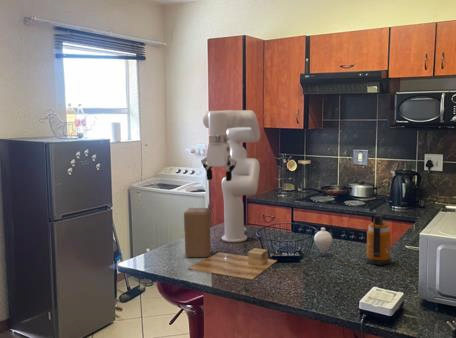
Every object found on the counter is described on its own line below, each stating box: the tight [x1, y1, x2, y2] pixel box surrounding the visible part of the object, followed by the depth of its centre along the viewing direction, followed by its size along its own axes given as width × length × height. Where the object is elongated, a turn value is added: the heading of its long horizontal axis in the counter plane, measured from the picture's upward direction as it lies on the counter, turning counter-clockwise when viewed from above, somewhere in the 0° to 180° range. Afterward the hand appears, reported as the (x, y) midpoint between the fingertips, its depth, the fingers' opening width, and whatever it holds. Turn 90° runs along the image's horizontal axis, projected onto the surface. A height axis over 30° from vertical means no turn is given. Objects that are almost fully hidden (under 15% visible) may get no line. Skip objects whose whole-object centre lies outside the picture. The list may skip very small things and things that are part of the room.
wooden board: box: [188, 251, 278, 280], centre depth 182 cm, size 24×28×1 cm
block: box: [183, 207, 212, 258], centre depth 196 cm, size 10×10×20 cm
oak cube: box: [247, 247, 269, 266], centre depth 184 cm, size 6×6×5 cm
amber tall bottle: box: [366, 213, 391, 266], centre depth 180 cm, size 9×11×20 cm
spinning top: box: [313, 227, 333, 256], centre depth 192 cm, size 8×8×12 cm
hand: (219, 180), depth 192 cm, fingers open, 9 cm apart
